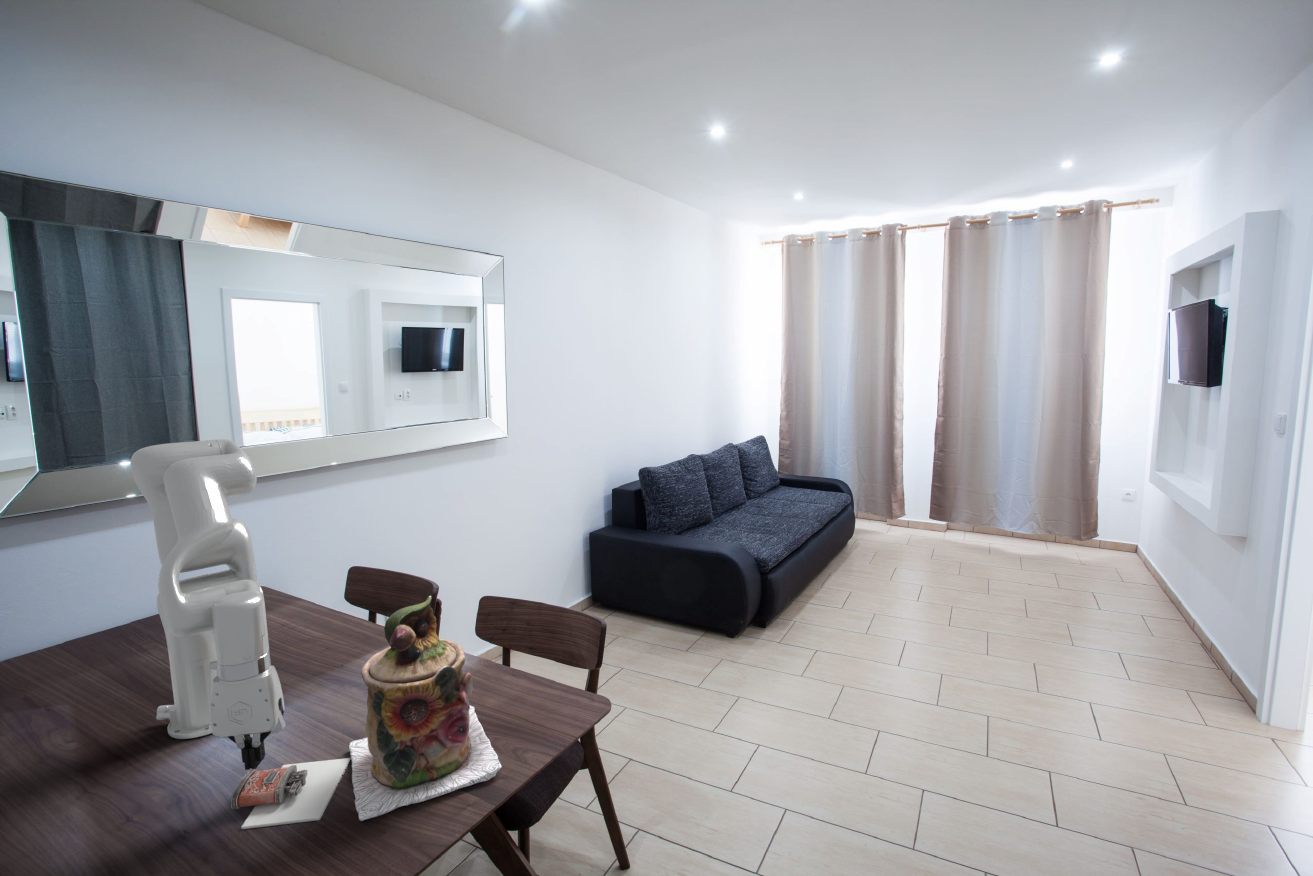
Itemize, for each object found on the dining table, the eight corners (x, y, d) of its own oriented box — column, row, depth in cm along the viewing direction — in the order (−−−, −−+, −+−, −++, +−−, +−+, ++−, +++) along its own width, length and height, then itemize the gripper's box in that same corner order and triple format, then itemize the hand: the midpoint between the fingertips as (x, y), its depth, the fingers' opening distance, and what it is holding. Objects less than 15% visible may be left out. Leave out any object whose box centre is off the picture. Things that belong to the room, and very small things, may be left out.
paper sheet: (241, 829, 102) (241, 827, 102) (283, 767, 118) (283, 765, 118) (319, 820, 104) (319, 817, 104) (350, 759, 120) (350, 757, 120)
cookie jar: (347, 749, 123) (334, 593, 119) (473, 713, 135) (465, 570, 131) (357, 829, 102) (343, 643, 98) (506, 778, 114) (498, 610, 110)
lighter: (250, 766, 112) (311, 758, 114) (252, 783, 113) (312, 775, 115) (230, 796, 105) (295, 787, 107) (232, 814, 105) (296, 805, 107)
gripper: (183, 680, 102) (195, 784, 104) (282, 672, 104) (291, 773, 107) (208, 659, 109) (219, 756, 112) (300, 651, 112) (308, 747, 114)
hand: (254, 764), depth 109 cm, fingers closed
